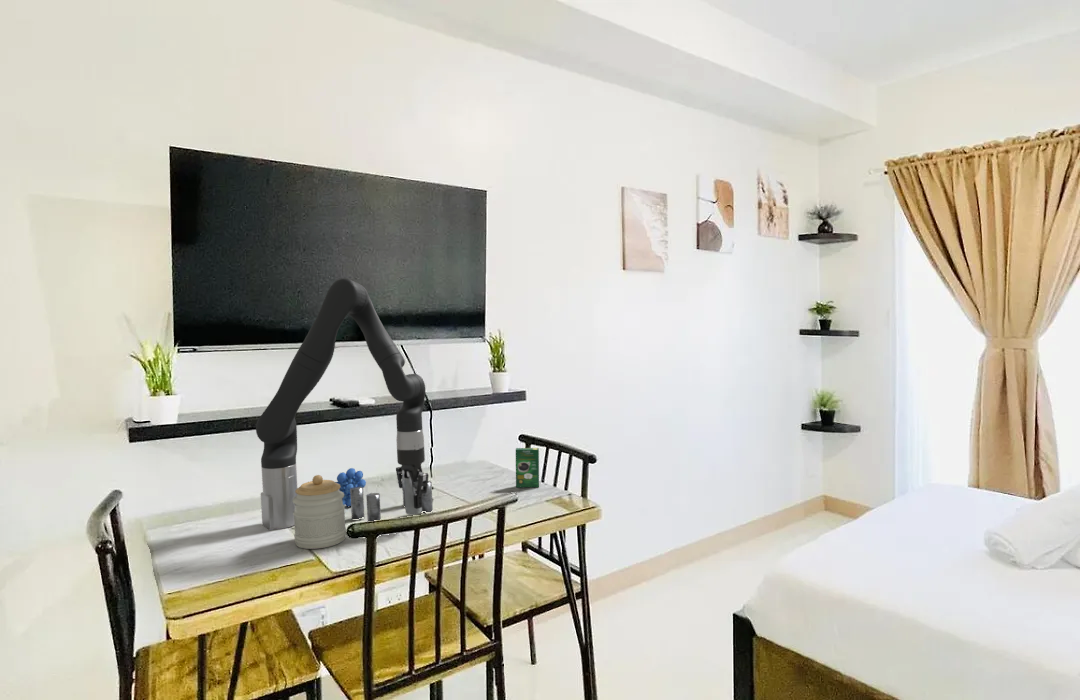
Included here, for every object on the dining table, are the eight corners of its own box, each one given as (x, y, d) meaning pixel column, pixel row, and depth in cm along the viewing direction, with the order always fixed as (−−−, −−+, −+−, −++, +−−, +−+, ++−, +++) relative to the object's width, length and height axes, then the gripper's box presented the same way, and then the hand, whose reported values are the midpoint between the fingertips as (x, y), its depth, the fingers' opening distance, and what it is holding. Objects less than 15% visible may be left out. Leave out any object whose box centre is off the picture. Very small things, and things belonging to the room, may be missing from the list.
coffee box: (540, 485, 218) (539, 447, 217) (540, 487, 215) (538, 448, 214) (516, 485, 218) (515, 447, 218) (515, 488, 215) (514, 449, 215)
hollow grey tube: (409, 515, 178) (408, 479, 178) (403, 512, 182) (401, 476, 181) (424, 512, 181) (423, 476, 180) (417, 508, 185) (416, 473, 184)
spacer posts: (371, 529, 178) (370, 497, 178) (349, 518, 188) (348, 488, 188) (435, 512, 192) (433, 482, 192) (411, 503, 202) (410, 474, 202)
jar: (351, 543, 168) (348, 476, 167) (299, 553, 162) (295, 484, 161) (340, 529, 179) (337, 466, 178) (291, 538, 173) (287, 474, 172)
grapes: (360, 500, 207) (358, 463, 207) (370, 504, 202) (368, 466, 202) (325, 508, 200) (323, 470, 199) (334, 512, 195) (332, 473, 194)
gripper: (385, 444, 183) (388, 504, 184) (412, 451, 172) (415, 514, 173) (408, 440, 188) (411, 498, 189) (436, 447, 177) (438, 508, 178)
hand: (413, 505), depth 181 cm, fingers closed on hollow grey tube, 4 cm apart
